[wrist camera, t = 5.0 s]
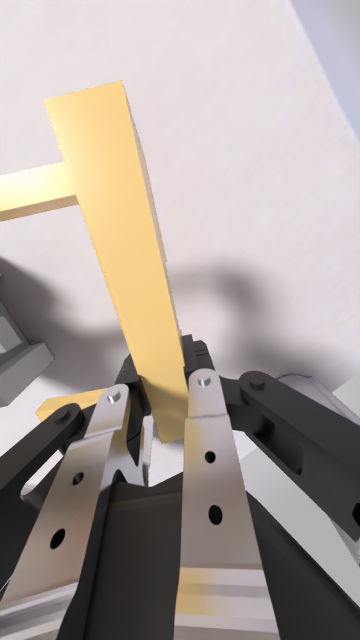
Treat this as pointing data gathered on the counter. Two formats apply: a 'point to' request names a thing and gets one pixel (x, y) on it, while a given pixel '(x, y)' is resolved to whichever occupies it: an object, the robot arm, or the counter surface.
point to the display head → (18, 359)
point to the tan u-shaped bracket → (113, 238)
